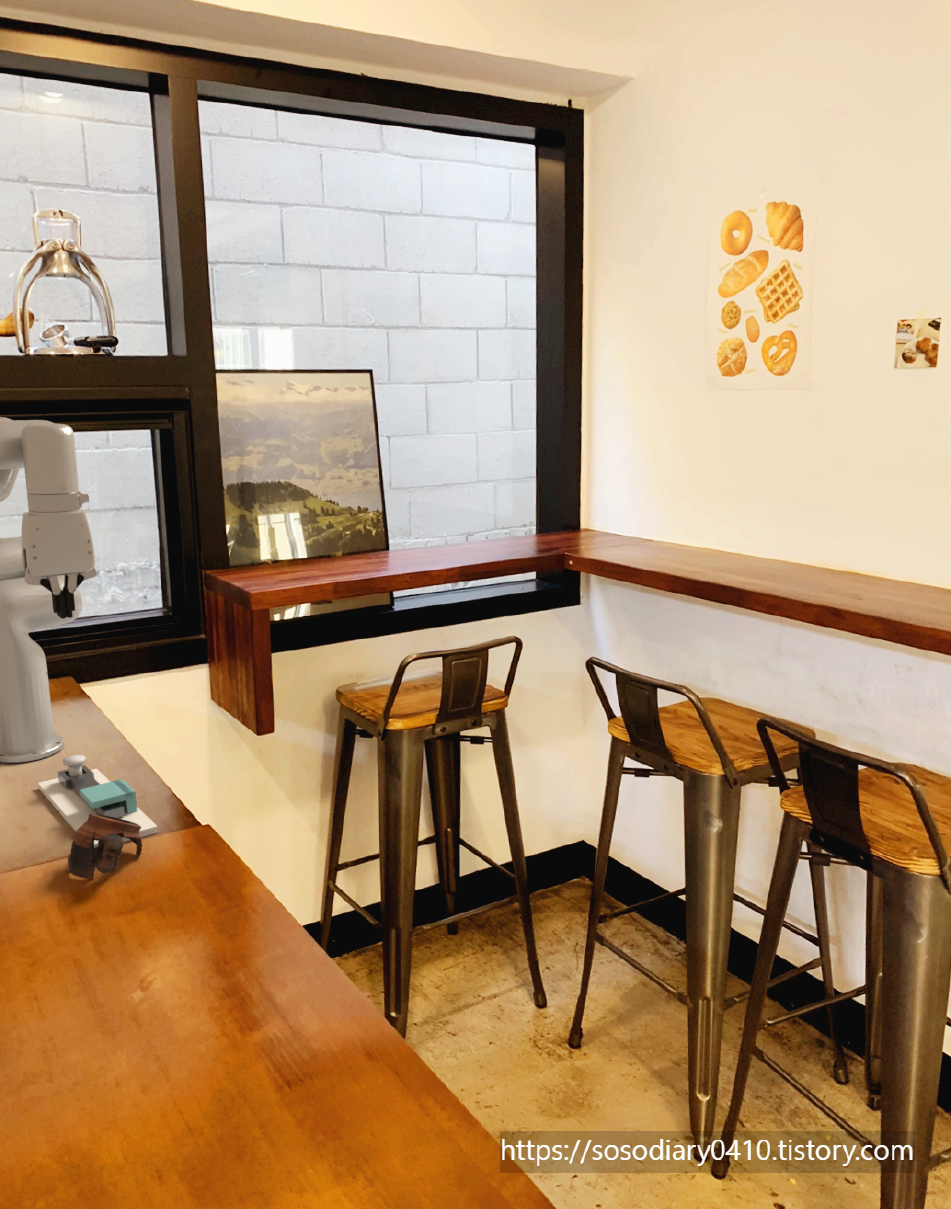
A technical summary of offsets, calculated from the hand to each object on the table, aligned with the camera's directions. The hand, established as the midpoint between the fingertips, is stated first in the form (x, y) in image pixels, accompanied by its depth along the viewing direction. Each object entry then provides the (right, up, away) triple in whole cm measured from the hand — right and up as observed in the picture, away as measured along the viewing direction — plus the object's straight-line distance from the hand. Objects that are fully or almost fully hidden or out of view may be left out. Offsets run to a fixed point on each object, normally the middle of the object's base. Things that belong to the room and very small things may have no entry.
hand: (64, 616), depth 154 cm
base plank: (+7, -30, -4) cm, 31 cm away
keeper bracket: (+10, -30, -7) cm, 32 cm away
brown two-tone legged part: (+15, -35, -22) cm, 44 cm away
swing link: (+6, -29, -3) cm, 29 cm away
